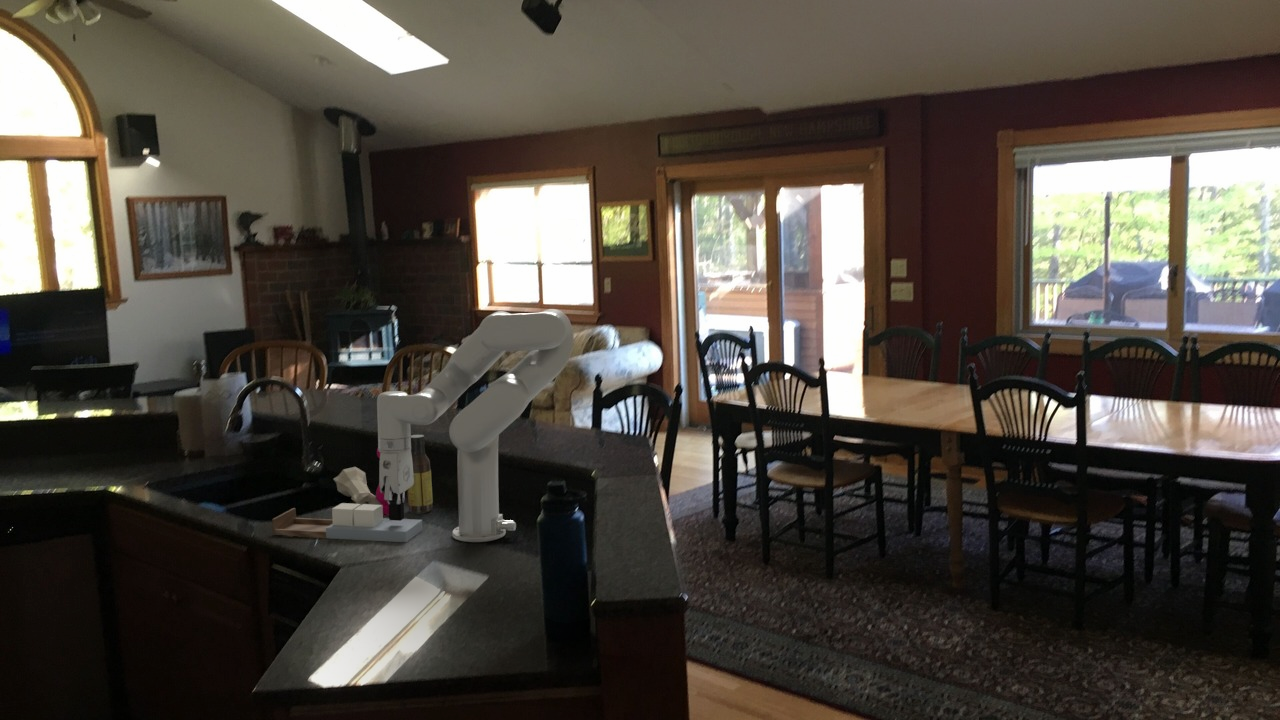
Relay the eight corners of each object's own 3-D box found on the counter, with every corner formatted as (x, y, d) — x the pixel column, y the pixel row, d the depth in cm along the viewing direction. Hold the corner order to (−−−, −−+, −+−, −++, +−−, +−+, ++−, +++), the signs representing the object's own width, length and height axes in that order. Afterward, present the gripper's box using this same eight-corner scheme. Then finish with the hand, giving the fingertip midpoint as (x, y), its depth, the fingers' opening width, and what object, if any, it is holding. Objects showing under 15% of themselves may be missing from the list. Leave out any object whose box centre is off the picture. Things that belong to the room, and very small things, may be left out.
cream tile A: (383, 521, 237) (382, 504, 237) (374, 526, 233) (373, 510, 232) (363, 520, 238) (363, 504, 238) (354, 526, 233) (353, 509, 233)
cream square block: (361, 520, 238) (361, 503, 238) (352, 525, 233) (351, 509, 233) (342, 519, 239) (341, 503, 239) (332, 524, 234) (332, 508, 234)
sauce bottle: (430, 506, 260) (428, 432, 257) (434, 512, 254) (432, 437, 251) (406, 508, 257) (403, 434, 255) (409, 515, 252) (406, 438, 249)
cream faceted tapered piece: (368, 487, 276) (390, 513, 254) (338, 499, 273) (358, 526, 251) (358, 459, 274) (380, 482, 252) (328, 470, 270) (347, 495, 248)
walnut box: (345, 526, 242) (344, 510, 241) (326, 538, 232) (325, 521, 232) (294, 523, 244) (293, 507, 244) (272, 535, 234) (272, 519, 234)
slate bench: (422, 529, 239) (422, 519, 238) (406, 542, 229) (406, 531, 229) (345, 526, 242) (345, 516, 242) (326, 538, 232) (325, 527, 232)
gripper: (396, 451, 224) (399, 529, 226) (421, 438, 239) (423, 511, 241) (365, 449, 225) (368, 527, 227) (392, 437, 240) (394, 510, 242)
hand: (396, 519), depth 234 cm, fingers closed
